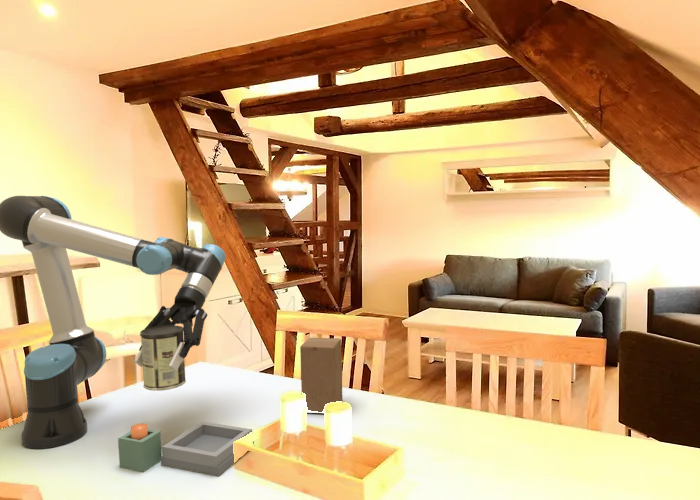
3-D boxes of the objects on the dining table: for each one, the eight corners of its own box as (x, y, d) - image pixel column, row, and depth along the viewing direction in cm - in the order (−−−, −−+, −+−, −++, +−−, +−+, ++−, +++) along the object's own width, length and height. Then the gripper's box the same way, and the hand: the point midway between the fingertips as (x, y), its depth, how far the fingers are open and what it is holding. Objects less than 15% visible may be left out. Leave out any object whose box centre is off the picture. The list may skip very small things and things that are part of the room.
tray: (161, 464, 122) (160, 446, 121) (201, 438, 135) (200, 421, 135) (218, 476, 116) (217, 456, 115) (254, 446, 130) (253, 429, 129)
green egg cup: (119, 467, 121) (117, 438, 120) (138, 455, 126) (137, 427, 126) (143, 472, 118) (141, 442, 118) (161, 460, 124) (160, 431, 123)
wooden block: (335, 415, 148) (333, 347, 147) (301, 413, 150) (299, 345, 149) (342, 402, 158) (341, 338, 156) (311, 401, 160) (309, 337, 158)
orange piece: (128, 449, 121) (127, 428, 121) (139, 442, 124) (138, 422, 124) (140, 451, 120) (139, 430, 119) (151, 444, 123) (150, 424, 123)
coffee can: (167, 375, 140) (165, 323, 139) (194, 381, 134) (192, 327, 133) (134, 386, 131) (131, 331, 130) (160, 393, 126) (158, 336, 124)
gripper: (234, 303, 141) (200, 378, 128) (167, 299, 149) (128, 368, 136) (222, 287, 136) (185, 363, 123) (153, 283, 144) (111, 354, 131)
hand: (155, 366), depth 129 cm, fingers closed on coffee can, 10 cm apart
